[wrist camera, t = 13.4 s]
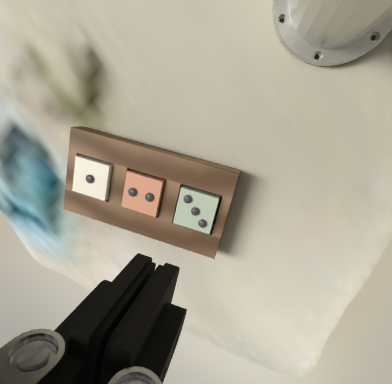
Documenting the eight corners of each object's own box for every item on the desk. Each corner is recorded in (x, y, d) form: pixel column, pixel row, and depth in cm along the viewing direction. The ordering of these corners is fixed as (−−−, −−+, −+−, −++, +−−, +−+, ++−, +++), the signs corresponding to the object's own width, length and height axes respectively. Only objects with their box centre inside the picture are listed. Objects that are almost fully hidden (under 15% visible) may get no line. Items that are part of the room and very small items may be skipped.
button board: (82, 126, 39) (70, 127, 37) (240, 170, 36) (239, 174, 33) (74, 203, 43) (63, 208, 40) (217, 250, 39) (214, 258, 37)
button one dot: (88, 153, 40) (74, 156, 37) (120, 162, 39) (108, 166, 36) (85, 185, 41) (71, 190, 38) (115, 195, 41) (103, 201, 38)
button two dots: (136, 167, 39) (126, 171, 36) (169, 177, 38) (162, 182, 35) (130, 199, 40) (120, 206, 37) (162, 210, 40) (154, 217, 37)
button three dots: (186, 182, 38) (180, 187, 35) (222, 192, 37) (218, 199, 34) (179, 215, 39) (172, 223, 36) (213, 225, 38) (209, 234, 36)
